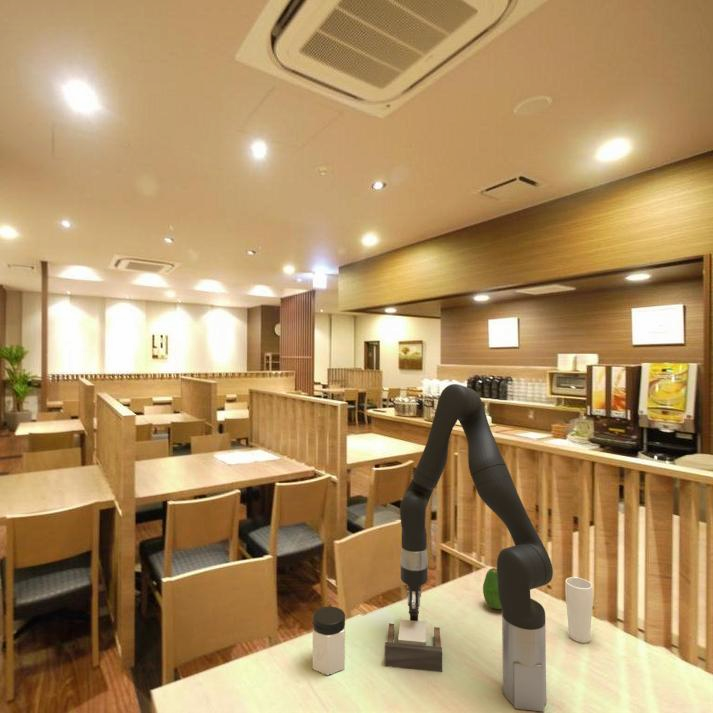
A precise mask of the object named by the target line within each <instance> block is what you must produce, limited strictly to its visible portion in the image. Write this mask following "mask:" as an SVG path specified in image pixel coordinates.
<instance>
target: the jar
mask: <svg viewBox="0 0 713 713" xmlns="http://www.w3.org/2000/svg"><path fill="white" fill-rule="evenodd" d="M345 636H346V613H345V612H344V610H342V609H341V608H338V607H337V606H324V607H323V606H322V607H320V608H318V609H317V610H315V611H314V613H313V615H312V670H313V669H314V671H316V672H318V671H319V673H320V672H321V674H323V673H324V674H323V675H325V674H326V675H325V676H330V675H329V674H331V673H333V674H335V673H334V672H336V673H338V672H341V671H343V670H345V664H346V663H345V659H346V649H345V648H346V646H345V644H346V642H345V641H346V639H345V638H346V637H345ZM340 670H341V671H340ZM337 671H338V672H337ZM331 675H332V674H331Z"/></svg>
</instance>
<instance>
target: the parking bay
mask: <svg viewBox="0 0 713 713" xmlns="http://www.w3.org/2000/svg"><path fill="white" fill-rule="evenodd" d="M440 628H441V627H436V626H434V627H433V638H434V640H433V641H434V645H426V646H424V645H413V644H401V643H398V642H394V641H393V640H394V639H395V623H388V629H387V634H386V635H387V637H386V641H385V643H384V667H388V666H392V667H391V668H398V667H399V668H400V669H409V670H417V671H418V670H419V671H420V670H421V671H429V672H440V673H443V647H442V641H441V629H440Z"/></svg>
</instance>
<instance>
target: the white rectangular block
mask: <svg viewBox="0 0 713 713" xmlns="http://www.w3.org/2000/svg"><path fill="white" fill-rule="evenodd" d="M398 630H399V631H398V640H397V641H398V642H397V643H401V644H413V645H424V646H427V622H426V621H421V620H418V621H411V620H410V619H399V629H398Z"/></svg>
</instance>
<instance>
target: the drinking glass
mask: <svg viewBox="0 0 713 713" xmlns="http://www.w3.org/2000/svg"><path fill="white" fill-rule="evenodd" d="M564 583H565V586H564V587H565V588H564V589H565V590H564V591H565V592H564V593H565V603H566V604H565V606H566V615H567V625H568V636H569V638H571V639H572V640H573V641H574V642H577V643H581V644H587V643H589V642H590V641H591V637H592V636H591V631H592V629H591V628H592V616H593V607H594V591H593V590H594V589H593V584H592V583H591V582H590V581H589V580H587V579H585V578H581V577H578V576H577V577H576V576H570V577H568V578H566V579H565V582H564Z"/></svg>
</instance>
